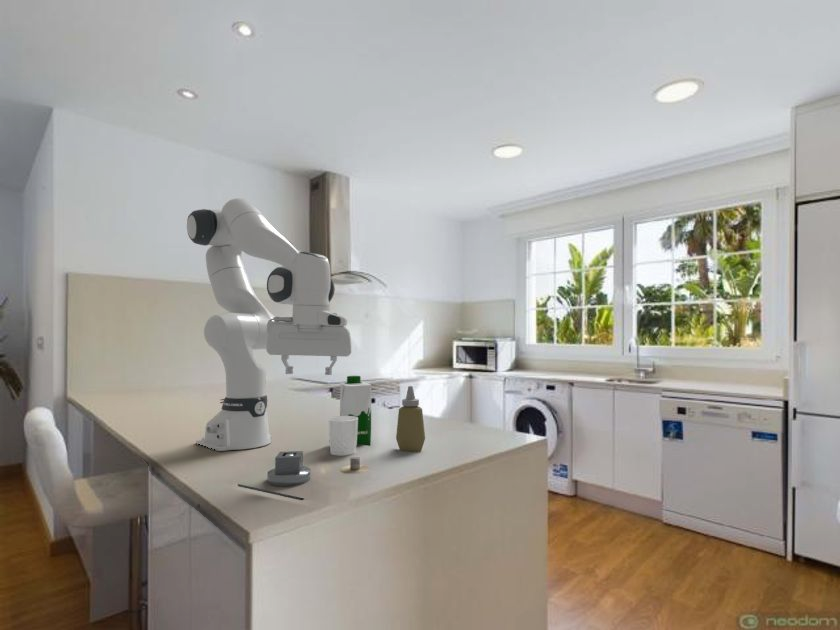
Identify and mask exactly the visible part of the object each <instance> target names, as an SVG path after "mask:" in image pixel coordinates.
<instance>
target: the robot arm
mask: <svg viewBox="0 0 840 630" xmlns="http://www.w3.org/2000/svg"><path fill="white" fill-rule="evenodd" d="M186 219H187V220H186V230H187V235H188V238H189V239H190V240H191V241H192V243H194V244H196V245H200V246H210V247H209V248H208V249H207V251H206V252H205V263H206V264H205V265H206V271H207V275H208V279H209V282H210V285H211V287H212V292H213V294H214V298H215V301H216V303H217V304H218V305H219V306H220V307H221V308H223V309H224V310H226V311H227V312H226V313H224V312H223V313H219V314H214V315H211V316H210V317H209V318H208V320H207V321H206V322H205V325H204V327H203V335H204V340H205V341H206V343H207V345H208V346H209V347H211V348H212V349H213V350H214V351H215V352H216V353H217V355H218V356H219V357H220V359H221V362H222V363H223V367H224V371H225V381H226V382H225V386H226V387H225V393H226V394H225V397H224V398H221V399H219V401H220V402H219V404H222V405H221V408H220V411H219V412H218V413H217V414H216V415H214V416H213V417H212V418H211V419H210V420H208V421H207V422H206V426H205V428H204V429H205V431H204V437H200V438H199V439H198V438H197V440H195V444H196V443H197V444H196V445H198V444H200V445H199V446H201V445H203V446H202V447H204V446H206V447H205V448H207V447H208V448H209V449H211V448H212V449H211V450H214V449H215V450H214V451H217V452H223V451H224V452H225V451H233V450H236V451H237V450H249V449H255V448H260V447H264V446H267V445H269V444H270V443H271V442H272V440H271V438H272V435H271V433H270V428H269V418H268V416H269V415H268V412H267V407H268V396H267V392H266V391H267V390H266V389H267V387H266V385H267V384H266V382H267V379H266V376H267V373H266V369H265V367H264V366H263V365H262V364H259V362H258V361H256V359H255V358H254V354H253V351H254V350H266V352H267V354H269V355H271V356H272V355H273V356H281V358H280V359H281V361H282V363H283V365H284V367H285V374H286V375H293V373H294V370H293V369H294V366H293V365H292V366H291V365H290V364H289V362H288V360H289V359H290V356H303V357H304V356H305V357H306V356H309V357H311V356H312V357H330V358H329V359H330V361H331V363H330V364H329V366H326V367H325V370H324V371H325V373H324V375H325V376H327V375H328V376H332V374H333V367H334V366H335V364H336V362H337V360H338V357H345V358H346V357H349V356H350V355H351V354H352V339H351V333H350V331H349V328H347V327H346V326H347V325H348V318H347V317H345V316H342V315H339V314H337V313H335V312H331V311H330V309H331V307H330V302H331V301H332V299H333V297H334V296H335V291H336V289H335V288H336V287H335V283H334V280H333V278H332V276H331V265H330V261H329V258H328V257H327V256H326V255H323V254H319V253H313V252H308V251H301V250H300V249H299V248H298V247H297V246H296V245H294V244H293V243H292V242H291V241H290V240H289V239H287V238H286V237H285V236H284V235H283V234H282V233H280V232H279V231H278V230H277V229H276V228H275V227H274V226H273V225H272V224H271V223H270V222H269V221H268V219H267V218H266V217H265V216H264V215H263V213H262V212H261V211H260V210H259V209H258V208H256V206H255V205H253V204H252V203H251V202H250V201H248V200H246V199H244V198H233V199H230V200H228V201H226V203H225V204H224V205H223V206H222V209H206V208H202V209H197V210H196V209H195V210H193V211H191V212H190V213H189V214H188V216H187V218H186ZM242 252H243V253H245V254H246V255H248V256H251V257H254V258H258V259H262V260H264V261H265V260H266V261H269V262H272V263H276V264H279V265H281V266H279V267H275V268H274V269H273V270H271V272H270V273H269V275H268V277H267V279H266V290H267V293H268V296H269V298H270V299H271V301H273V302H274V303H278V304H279V305H281V304H282V305H292V316H285V317H284V316H283V317H280V316H276V315H274V314H273V313H271V311H269V310H268V309H267V308H266V306H265V305H264V304H263V303H262V301H261V300H260V299H259V297H258V295H257V294H256V292H255V291H254V289H253V285H252V283H251V280H250V278H249V274H248V272H247V269H246V266H245V264H244V261H243V258H242ZM208 448H207V449H208Z"/></svg>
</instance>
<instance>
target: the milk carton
mask: <svg viewBox="0 0 840 630" xmlns="http://www.w3.org/2000/svg"><path fill="white" fill-rule="evenodd" d="M339 384H340V385H339V386H340V387H339V392H340V393H339V416H355V417H358V432H357V445H356V446H360V445H362V446H368V447H371V445H372V444H371V442H372V441H371V440H372V389H373V388H372V384H370V383H369V382H364V381H361V376H360V375H347V376H346V382H341V383H339Z"/></svg>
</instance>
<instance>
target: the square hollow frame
mask: <svg viewBox="0 0 840 630" xmlns="http://www.w3.org/2000/svg"><path fill="white" fill-rule="evenodd" d="M303 451H304V450H303ZM303 451H302V450H299V451H298V450H293V451H279V452H278V454H277V455H276V456H275V459H274V462H275V463H274V465H275V466H274V468H275V475H290V474H300V472H301V470H302V468H303V466H304V461H303V459H304V452H303ZM286 454H294V456H285V455H286Z"/></svg>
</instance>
